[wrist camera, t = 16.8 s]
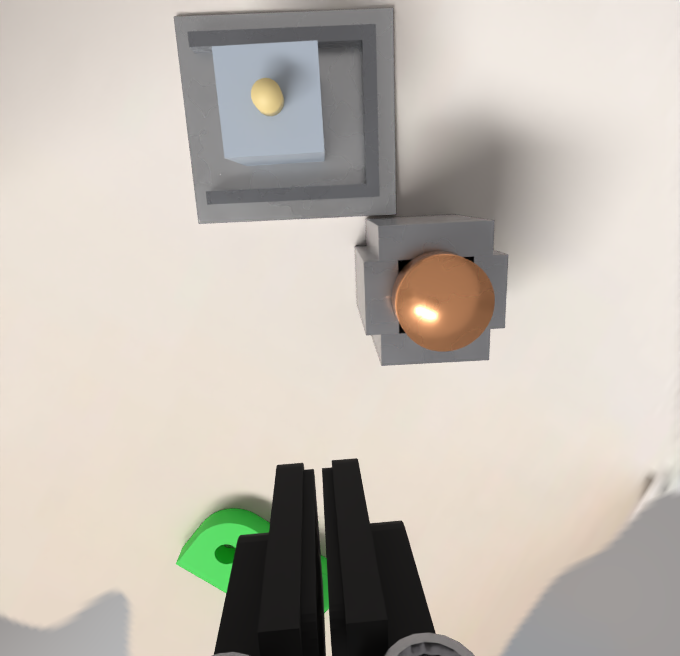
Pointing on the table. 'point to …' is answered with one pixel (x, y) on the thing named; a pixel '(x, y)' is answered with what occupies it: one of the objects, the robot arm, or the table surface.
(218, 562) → the mechanical part
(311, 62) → the light blue block
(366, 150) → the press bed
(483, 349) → the copper disc holder
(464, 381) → the table surface
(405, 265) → the plunger
